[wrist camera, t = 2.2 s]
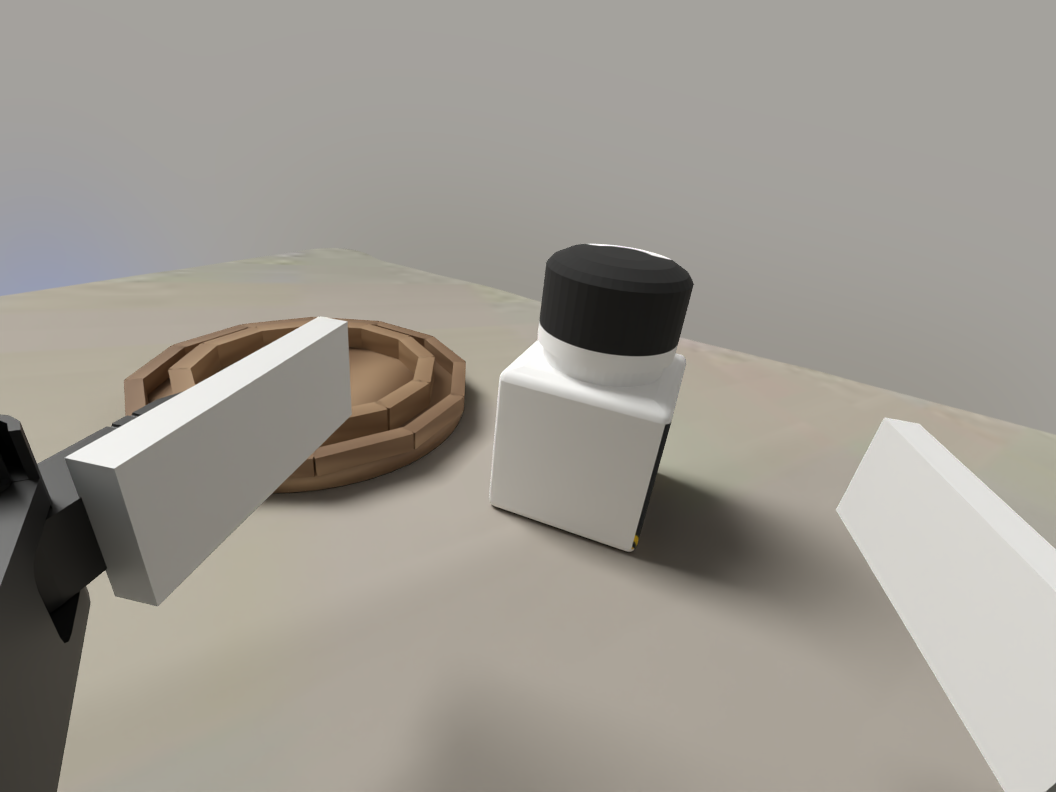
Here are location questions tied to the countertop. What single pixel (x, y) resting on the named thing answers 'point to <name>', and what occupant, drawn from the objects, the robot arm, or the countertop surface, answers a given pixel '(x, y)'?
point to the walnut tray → (376, 394)
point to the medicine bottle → (593, 394)
